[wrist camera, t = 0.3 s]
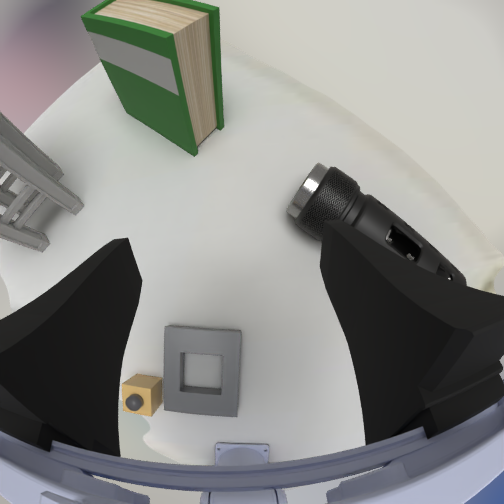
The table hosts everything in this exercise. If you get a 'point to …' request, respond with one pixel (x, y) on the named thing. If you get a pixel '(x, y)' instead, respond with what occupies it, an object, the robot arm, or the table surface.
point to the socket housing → (199, 397)
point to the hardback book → (163, 64)
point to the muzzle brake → (362, 219)
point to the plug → (142, 394)
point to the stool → (28, 186)
